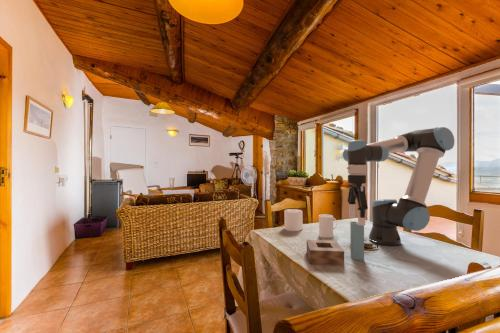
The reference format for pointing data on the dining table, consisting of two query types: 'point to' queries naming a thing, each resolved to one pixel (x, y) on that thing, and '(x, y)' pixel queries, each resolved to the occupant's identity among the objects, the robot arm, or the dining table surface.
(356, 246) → the peg
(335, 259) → the socket
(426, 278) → the dining table surface
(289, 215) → the cup
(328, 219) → the mug
